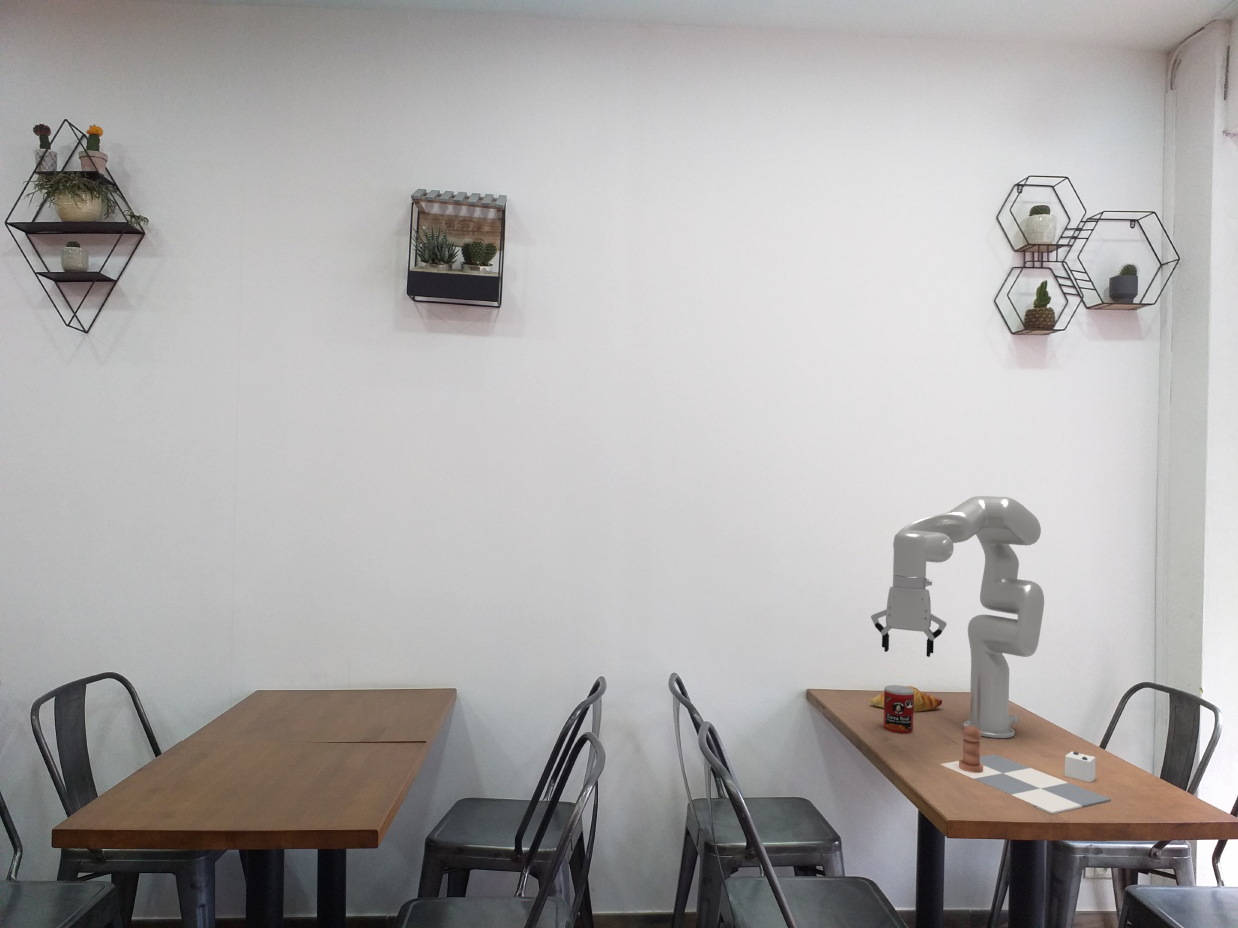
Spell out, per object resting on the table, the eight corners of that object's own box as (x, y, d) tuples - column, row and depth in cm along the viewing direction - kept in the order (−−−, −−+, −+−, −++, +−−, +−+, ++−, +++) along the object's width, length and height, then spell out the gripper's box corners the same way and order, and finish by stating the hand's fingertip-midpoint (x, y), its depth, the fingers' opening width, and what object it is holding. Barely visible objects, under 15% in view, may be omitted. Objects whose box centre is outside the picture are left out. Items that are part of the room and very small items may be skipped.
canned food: (882, 731, 208) (883, 690, 208) (884, 722, 215) (885, 683, 216) (912, 735, 205) (913, 693, 205) (913, 727, 212) (914, 687, 213)
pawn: (969, 763, 184) (970, 721, 184) (988, 770, 179) (989, 727, 180) (954, 765, 182) (954, 723, 182) (972, 773, 177) (973, 730, 177)
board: (995, 756, 191) (995, 754, 191) (1110, 800, 165) (1110, 798, 165) (940, 765, 183) (940, 763, 183) (1051, 814, 157) (1051, 812, 157)
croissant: (873, 721, 229) (877, 700, 225) (864, 696, 238) (868, 677, 234) (945, 722, 228) (950, 701, 225) (933, 697, 237) (938, 678, 234)
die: (1070, 772, 182) (1071, 748, 182) (1095, 778, 178) (1095, 754, 178) (1064, 777, 178) (1065, 753, 178) (1089, 784, 175) (1089, 759, 175)
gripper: (948, 584, 188) (946, 654, 187) (874, 578, 195) (872, 646, 195) (946, 587, 181) (945, 660, 181) (870, 581, 188) (868, 651, 188)
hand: (907, 653), depth 188 cm, fingers open, 9 cm apart
